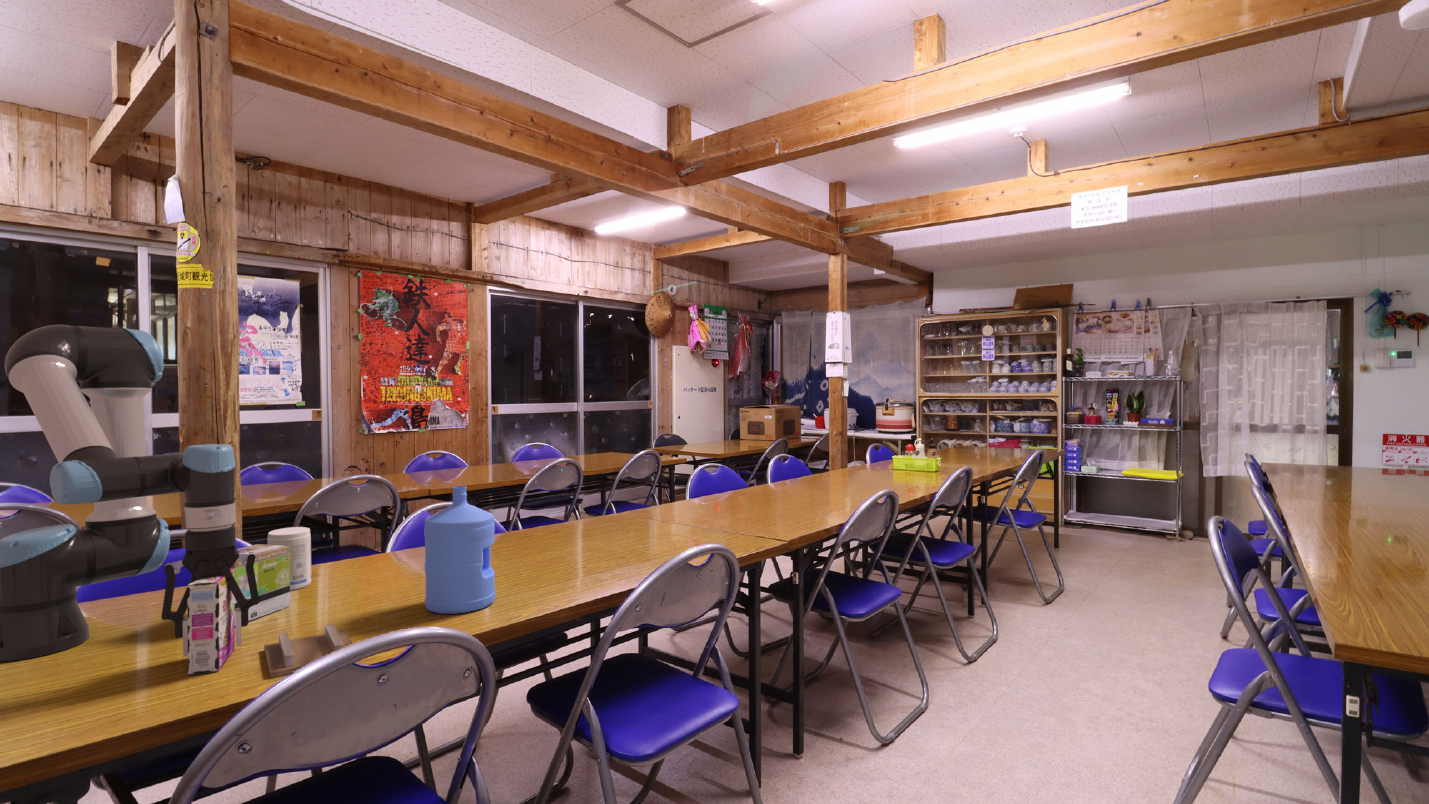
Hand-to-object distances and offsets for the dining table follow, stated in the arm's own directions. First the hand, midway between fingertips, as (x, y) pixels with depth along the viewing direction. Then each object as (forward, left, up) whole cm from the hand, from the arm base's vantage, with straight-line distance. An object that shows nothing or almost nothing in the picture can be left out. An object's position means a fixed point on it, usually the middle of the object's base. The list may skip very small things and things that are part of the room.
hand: (213, 648), depth 124 cm
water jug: (+47, +6, -3) cm, 47 cm away
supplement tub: (+16, +48, -3) cm, 51 cm away
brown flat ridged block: (+15, -7, -3) cm, 17 cm away
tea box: (+6, +28, -3) cm, 29 cm away
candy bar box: (0, 0, -3) cm, 3 cm away
